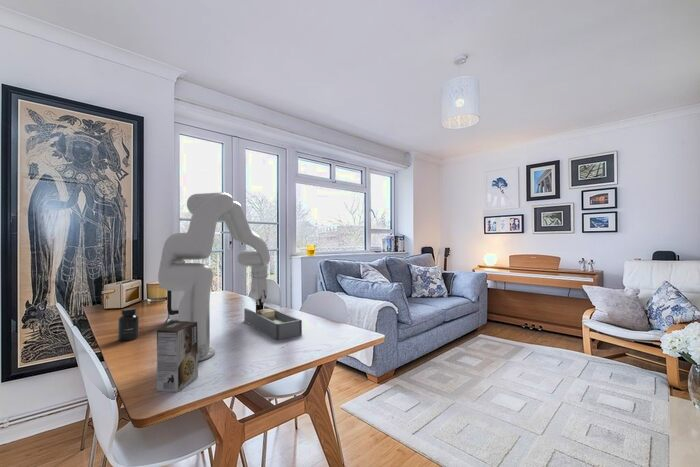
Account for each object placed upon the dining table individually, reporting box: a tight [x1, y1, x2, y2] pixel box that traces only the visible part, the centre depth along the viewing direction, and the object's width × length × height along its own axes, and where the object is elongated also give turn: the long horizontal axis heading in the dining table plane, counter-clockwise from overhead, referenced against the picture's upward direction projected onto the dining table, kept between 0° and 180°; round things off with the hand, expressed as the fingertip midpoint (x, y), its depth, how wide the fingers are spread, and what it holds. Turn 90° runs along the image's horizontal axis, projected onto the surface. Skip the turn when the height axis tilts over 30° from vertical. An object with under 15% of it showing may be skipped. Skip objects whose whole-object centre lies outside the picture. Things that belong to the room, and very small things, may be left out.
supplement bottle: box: [117, 307, 140, 342], centre depth 129 cm, size 7×7×12 cm
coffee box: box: [156, 321, 199, 393], centre depth 88 cm, size 9×6×16 cm
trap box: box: [243, 305, 303, 341], centre depth 144 cm, size 38×11×6 cm, turn 37°
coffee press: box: [164, 260, 186, 325], centre depth 156 cm, size 17×16×30 cm
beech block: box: [257, 308, 275, 320], centre depth 149 cm, size 6×6×4 cm
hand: (259, 312), depth 155 cm, fingers closed
